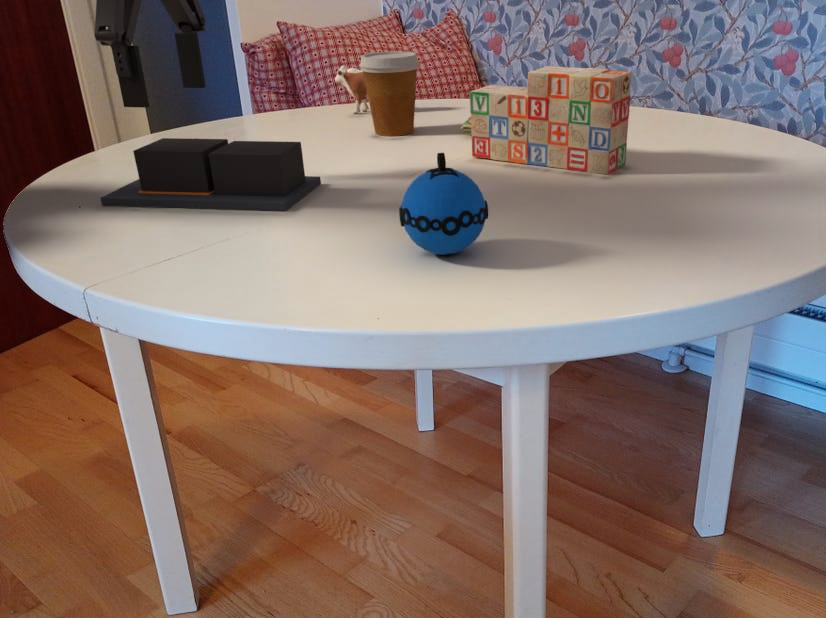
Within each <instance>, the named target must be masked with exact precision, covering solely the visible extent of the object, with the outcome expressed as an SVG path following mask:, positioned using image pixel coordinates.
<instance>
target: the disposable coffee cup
mask: <svg viewBox="0 0 826 618" xmlns="http://www.w3.org/2000/svg"><path fill="white" fill-rule="evenodd" d="M417 56H418V55H417V53H416V52H412V51H401V50H400V51H395V50H393V51H379V52H370V53H365V54H362V55H361V57H360V63H359V64H358V66H359V67H360V70H362V71H363V75H364V79H365V84H366V89H367V94H368V97H367V100H368V103H369V104H368V105H369V109H370V114H371V119H372V124H373V128H374V133H375V135H379V136H384V137H397V136H406V135H410V134H412V133H414V130H415V129H414V127H415V110H416V94H417V93H416V92H417V75H418V69H419V65H420V61H419V60H418V58H417Z"/></svg>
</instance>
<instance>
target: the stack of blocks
mask: <svg viewBox="0 0 826 618" xmlns="http://www.w3.org/2000/svg"><path fill="white" fill-rule="evenodd" d="M631 85H632V71H622V70H610V69H609V68H599V67H587V68H586V67H585V68H584V67H570V66H569V67H567V66H554V65H553V66H552V65H547V66H544V67H541V68H537V69H535V70H531V71H528V72H527V86H516V85H515V86H514V85H513V86H512V85H501V84H489V85H485V86H483V87H480V88H477V89H474V90H470V91H469V105H470V106H469V109H470V110H469V113H470V117H471V134H470V135H471V156H472V158H481V159H490V160H494V161H501V162H510V163H517V164H524V165H527V164H528V165H534V166H541V167H550V168H555V169H565V170H570V171H578V172H585V173H587V172H588V173H592V174H599V175H610V174H611V173H613V172H615V171H617V169H620V168H621V167H623V166H625V165H626V161H627V146H628V143H627V141H628V131H629V130H628V129H629V118H630V108H631V107H630V106H631V103H630V102H631Z"/></svg>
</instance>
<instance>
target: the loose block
mask: <svg viewBox="0 0 826 618" xmlns="http://www.w3.org/2000/svg"><path fill="white" fill-rule="evenodd" d="M227 144H229V140H228V138H181V137H180V138H176V137H175V138H174V137H173V138H172V137H171V138H169V137H165V138H164V137H162V138H160V139H158V140H155V141H153V142H151V143H149V144H145V145H143V146H141V147H139V148H136V149H134V150H133V151H132V152H133V157H134V161H135V165H136V170H137V171H136V172H137V175H138V179H139V180H140V184H141V189H142V191H158V192H195V193H209V192H211V191H213V190H214V184H213V178H212V172H211V167H210V161H209V155H208V154H209V153H211V152H213V151H215V150H217V149H219V148H221V147H223V146H225V145H227Z"/></svg>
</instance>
